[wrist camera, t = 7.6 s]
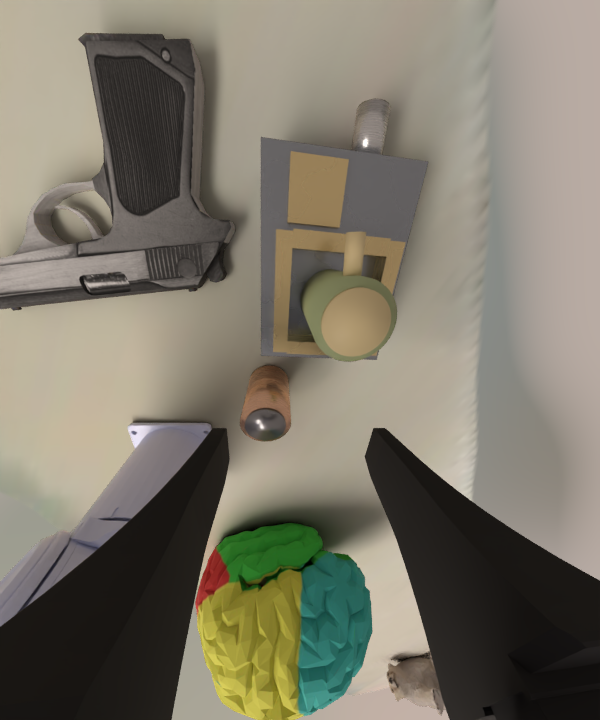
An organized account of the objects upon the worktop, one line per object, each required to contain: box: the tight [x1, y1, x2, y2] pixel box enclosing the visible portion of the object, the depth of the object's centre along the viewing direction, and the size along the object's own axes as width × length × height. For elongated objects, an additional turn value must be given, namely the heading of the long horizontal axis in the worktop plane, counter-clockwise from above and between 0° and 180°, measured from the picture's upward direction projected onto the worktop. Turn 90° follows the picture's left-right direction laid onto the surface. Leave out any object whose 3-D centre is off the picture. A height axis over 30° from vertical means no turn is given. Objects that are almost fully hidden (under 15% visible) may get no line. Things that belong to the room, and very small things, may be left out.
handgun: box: [0, 33, 236, 310], centre depth 13 cm, size 18×2×12 cm
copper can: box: [240, 365, 291, 441], centre depth 18 cm, size 4×4×6 cm
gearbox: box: [261, 99, 428, 360], centre depth 14 cm, size 14×9×5 cm, turn 175°
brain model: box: [195, 523, 372, 720], centre depth 28 cm, size 24×19×15 cm
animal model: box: [387, 652, 446, 715], centre depth 73 cm, size 14×28×17 cm
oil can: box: [301, 232, 397, 361], centre depth 11 cm, size 5×4×6 cm
